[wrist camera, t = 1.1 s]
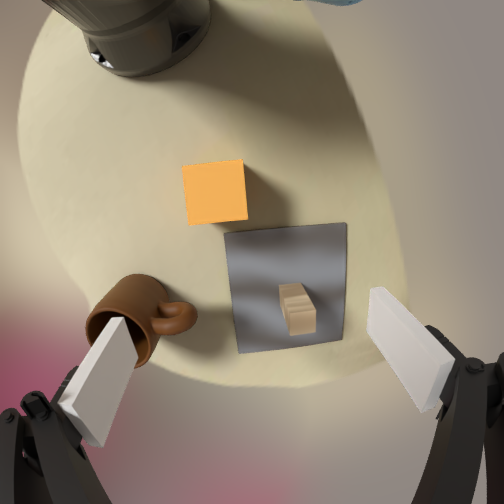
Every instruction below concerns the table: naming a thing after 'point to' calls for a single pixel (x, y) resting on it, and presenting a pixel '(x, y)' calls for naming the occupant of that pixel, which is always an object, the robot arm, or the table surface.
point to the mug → (141, 314)
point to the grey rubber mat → (287, 285)
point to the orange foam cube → (215, 192)
